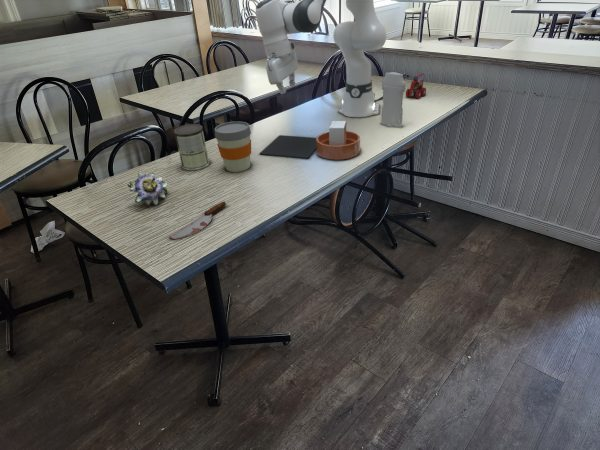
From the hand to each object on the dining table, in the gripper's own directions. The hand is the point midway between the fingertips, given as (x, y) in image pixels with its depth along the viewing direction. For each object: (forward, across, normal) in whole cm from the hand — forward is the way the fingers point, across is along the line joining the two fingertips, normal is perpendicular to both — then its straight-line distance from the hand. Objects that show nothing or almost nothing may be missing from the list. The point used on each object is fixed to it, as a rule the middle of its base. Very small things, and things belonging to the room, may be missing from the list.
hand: (288, 89), depth 154 cm
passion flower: (+15, -52, +33) cm, 63 cm away
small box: (+26, -2, -15) cm, 30 cm away
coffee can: (+16, -24, +34) cm, 45 cm away
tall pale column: (+30, +31, -28) cm, 52 cm away
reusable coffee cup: (+19, -22, +17) cm, 34 cm away
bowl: (+26, -2, -14) cm, 30 cm away
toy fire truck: (+33, +76, -32) cm, 89 cm away
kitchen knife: (+19, -60, +9) cm, 64 cm away
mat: (+22, -1, +4) cm, 23 cm away
